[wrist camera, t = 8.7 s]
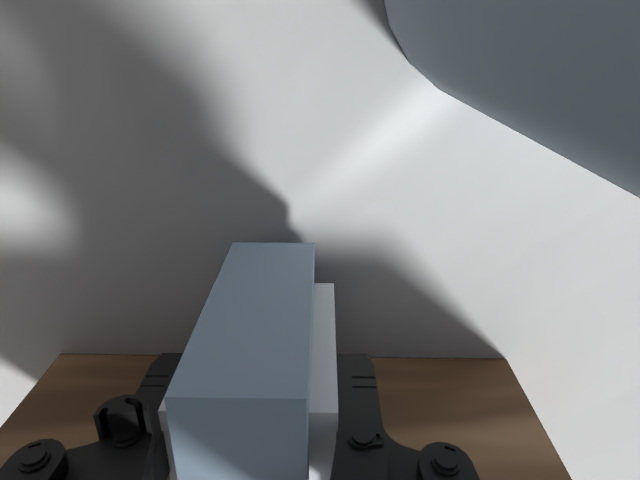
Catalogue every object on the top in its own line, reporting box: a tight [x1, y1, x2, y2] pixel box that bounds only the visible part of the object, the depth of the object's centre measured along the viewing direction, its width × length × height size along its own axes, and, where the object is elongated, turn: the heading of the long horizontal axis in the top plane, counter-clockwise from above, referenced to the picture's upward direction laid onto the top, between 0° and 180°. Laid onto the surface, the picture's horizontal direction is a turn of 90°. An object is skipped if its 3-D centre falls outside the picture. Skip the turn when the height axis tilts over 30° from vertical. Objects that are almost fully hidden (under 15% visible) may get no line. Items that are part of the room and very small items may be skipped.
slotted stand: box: [0, 354, 572, 480], centre depth 18 cm, size 3×20×8 cm, turn 90°
